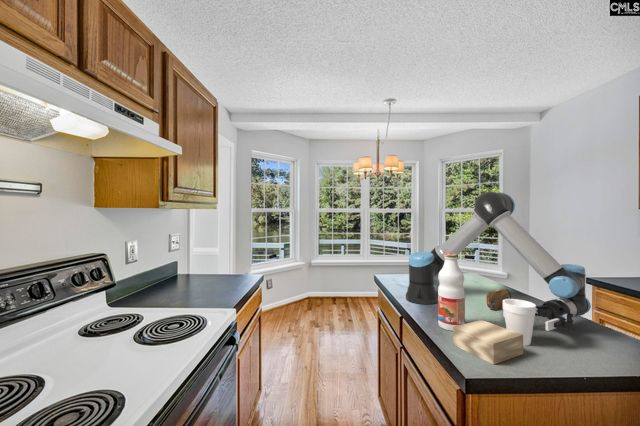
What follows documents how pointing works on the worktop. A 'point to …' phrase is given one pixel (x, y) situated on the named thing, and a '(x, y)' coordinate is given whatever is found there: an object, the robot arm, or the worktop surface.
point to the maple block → (488, 341)
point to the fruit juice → (451, 294)
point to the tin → (497, 298)
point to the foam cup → (520, 317)
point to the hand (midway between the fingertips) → (524, 319)
